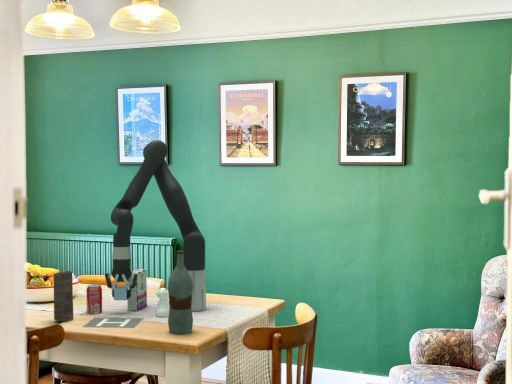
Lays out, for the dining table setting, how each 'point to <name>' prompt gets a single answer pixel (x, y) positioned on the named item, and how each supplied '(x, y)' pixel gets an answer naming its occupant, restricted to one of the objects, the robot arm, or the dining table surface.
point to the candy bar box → (138, 291)
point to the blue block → (120, 293)
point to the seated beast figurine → (162, 303)
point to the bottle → (180, 298)
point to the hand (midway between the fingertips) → (121, 298)
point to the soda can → (94, 299)
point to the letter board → (114, 322)
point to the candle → (63, 296)
